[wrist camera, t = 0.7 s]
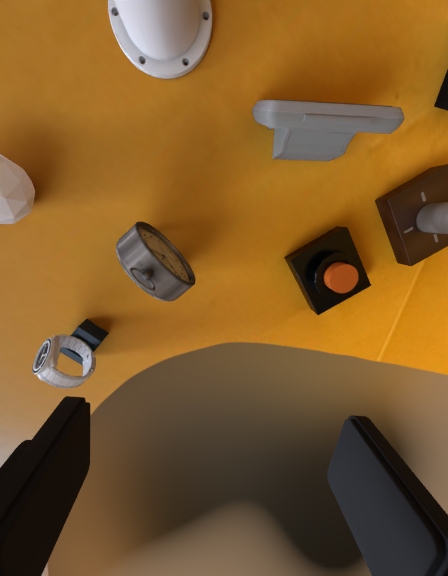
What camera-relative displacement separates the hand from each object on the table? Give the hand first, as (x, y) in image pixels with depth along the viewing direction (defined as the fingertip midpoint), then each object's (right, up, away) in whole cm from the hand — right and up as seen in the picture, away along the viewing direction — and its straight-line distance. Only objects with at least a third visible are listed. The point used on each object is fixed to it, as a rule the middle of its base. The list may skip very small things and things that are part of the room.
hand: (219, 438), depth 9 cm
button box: (+17, +9, +34) cm, 39 cm away
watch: (-23, -3, +34) cm, 42 cm away
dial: (+32, +16, +30) cm, 47 cm away
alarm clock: (-10, +11, +31) cm, 34 cm away
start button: (+18, +7, +30) cm, 35 cm away
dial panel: (+32, +17, +33) cm, 49 cm away
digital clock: (+12, +29, +28) cm, 42 cm away
